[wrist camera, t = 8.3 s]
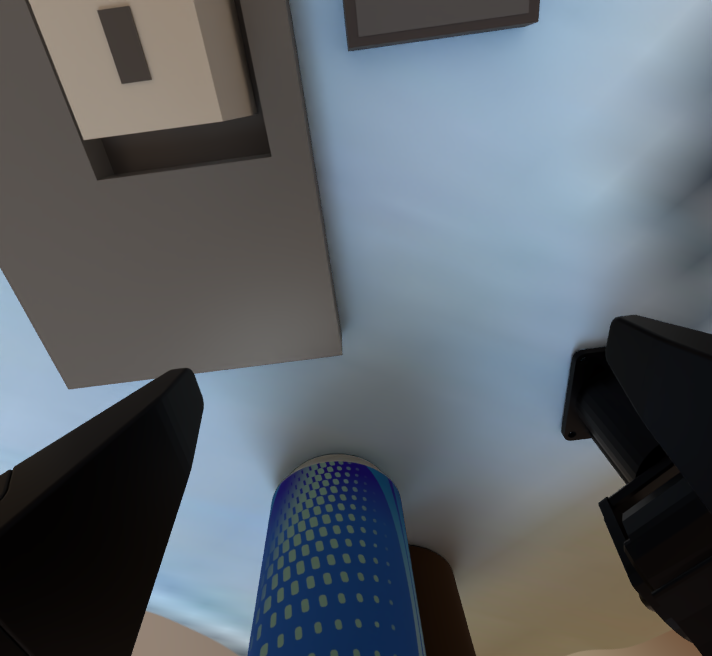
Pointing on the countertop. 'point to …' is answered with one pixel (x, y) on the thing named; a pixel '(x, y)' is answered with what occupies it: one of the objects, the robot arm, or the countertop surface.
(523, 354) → the countertop surface
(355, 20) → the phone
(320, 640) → the beer can
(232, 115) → the block
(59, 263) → the outlet plate
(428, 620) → the olive oil
